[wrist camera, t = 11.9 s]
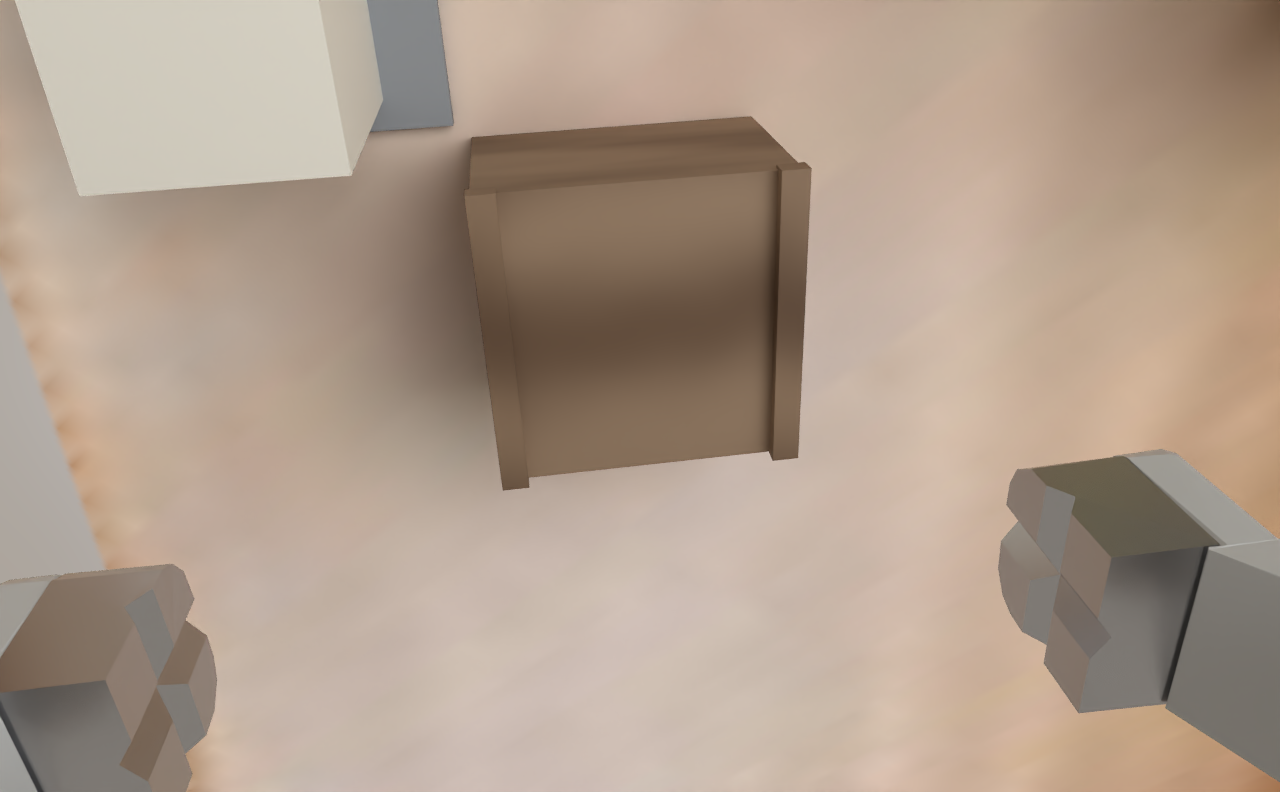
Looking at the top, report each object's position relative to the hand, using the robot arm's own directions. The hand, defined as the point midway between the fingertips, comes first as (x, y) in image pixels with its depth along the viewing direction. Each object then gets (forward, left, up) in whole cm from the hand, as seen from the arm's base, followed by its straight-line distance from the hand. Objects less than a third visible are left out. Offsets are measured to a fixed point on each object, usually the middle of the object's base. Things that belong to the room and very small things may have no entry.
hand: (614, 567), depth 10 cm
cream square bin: (+4, +7, -23) cm, 25 cm away
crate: (-6, -3, -24) cm, 25 cm away
